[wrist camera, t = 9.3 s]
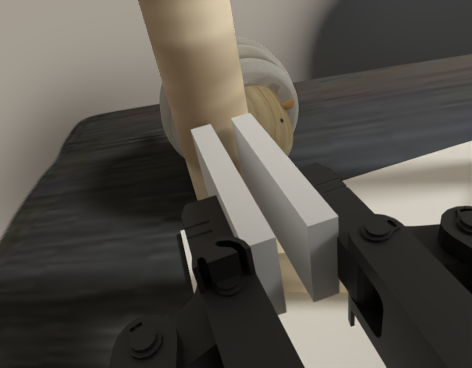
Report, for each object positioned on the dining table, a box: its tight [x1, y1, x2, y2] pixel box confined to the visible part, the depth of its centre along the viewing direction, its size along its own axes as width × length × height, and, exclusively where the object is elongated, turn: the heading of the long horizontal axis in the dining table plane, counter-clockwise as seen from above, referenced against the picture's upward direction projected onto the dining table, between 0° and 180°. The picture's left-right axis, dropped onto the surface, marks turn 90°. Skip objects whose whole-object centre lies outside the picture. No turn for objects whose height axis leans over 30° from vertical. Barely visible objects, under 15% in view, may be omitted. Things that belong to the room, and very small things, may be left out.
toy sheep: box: [160, 37, 298, 158], centre depth 30 cm, size 11×17×11 cm, turn 27°
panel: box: [138, 0, 348, 292], centre depth 14 cm, size 14×3×20 cm, turn 82°
